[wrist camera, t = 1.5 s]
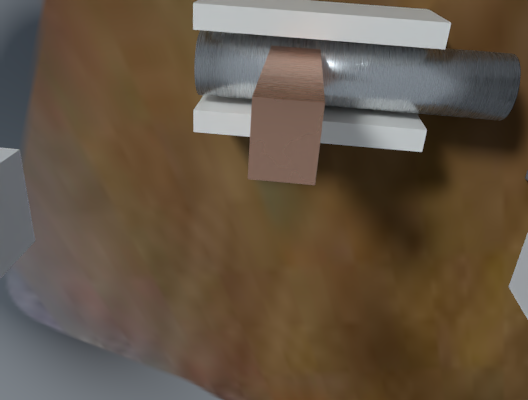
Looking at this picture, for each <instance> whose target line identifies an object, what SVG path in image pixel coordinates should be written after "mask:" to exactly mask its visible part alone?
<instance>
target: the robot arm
mask: <svg viewBox="0 0 528 400" xmlns="http://www.w3.org/2000/svg"><path fill="white" fill-rule="evenodd" d="M34 242H35V236H34V230H33V224H32V219H31V213H30V207H29V201H28V195H27V190H26V184H25V178H24V172H23V166H22V160H21V155H20V150H19V149H9V148H0V278H1V277H2V276H3V275H4V274H5V273H6V272H7V271H8V270H9V269H10V268H11V267H12V265H13V264H14V263H15V262H16V261H17V260H18V259H19V258H20V257H21V256H22V255H23V254H24V253H25V251H26V250H27V249H28V248H29V247H30V246H31V245H32V244H33V243H34ZM509 288H510V290H511V292H512V294H513V295H514V297H515V299H516V300H517V302H518V304H519V305H520V307H521V309H522V311H523V312H524V314H525V316H526V317H527V319H528V233H527V236H526V239H525V242H524V245H523V248H522V250H521V253H520V256H519V259H518V262H517V265H516V267H515V270H514V273H513V276H512V279H511V282H510V284H509Z"/></svg>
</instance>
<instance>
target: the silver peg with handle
mask: <svg viewBox="0 0 528 400" xmlns="http://www.w3.org/2000/svg"><path fill="white" fill-rule="evenodd" d="M520 74H521V73H520V63H519V59H518V57H517V56H516V55H515V54H510V53H498V52H485V51H472V50H460V49H447V48H445V50H444V49H432V48H419V47H406V46H394V45H381V44H368V43H356V42H343V41H330V40H318V39H305V38H293V37H280V36H267V35H255V34H242V33H229V32H217V31H204V30H200V32H199V35H198V39H197V44H196V52H195V85H196V90H197V93H198V94H199V95H206V96H218V97H230V98H242V99H252V107H251V127H250V146H249V165H248V179H253V180H264V181H275V182H286V183H296V184H307V185H315V181H316V173H317V165H318V157H319V148H320V140H321V132H322V124H323V116H324V107H325V106H335V107H347V108H359V109H371V110H382V111H394V112H406V113H418V114H429V115H441V116H453V117H465V118H476V119H488V120H503V119H505V118H506V117H507V116H508V114H509V113H510V111H511V110H512V108H513V106H514V103H515V101H516V98H517V94H518V90H519V85H520Z"/></svg>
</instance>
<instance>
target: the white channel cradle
mask: <svg viewBox="0 0 528 400" xmlns="http://www.w3.org/2000/svg"><path fill="white" fill-rule="evenodd" d="M450 26H451V22H449V21H447V20H446V19H444V18H442V17H441V16H439V15H437V14H436V13H434V12H432V11H431V10H429V9H417V8H404V7H390V6H377V5H364V4H351V3H337V2H324V1H311V0H198V1H196V2H194V3H193V30H204V31H217V32H229V33H242V34H255V35H267V36H280V37H293V38H305V39H318V40H330V41H343V42H356V43H368V44H381V45H394V46H406V47H419V48H432V49H444V50H445V48H446V44H447V40H448V35H449V31H450ZM251 107H252V99H242V98H230V97H218V96H206V95H204V96H203V97H202V98H201V100H200V101H199V103H198V104H197V106H196V107H195V109H194V132H201V133H212V134H224V135H235V136H246V137H250V127H251ZM426 133H427V129H426V128H425V126H424V124H423V123H422V121H421V119H420V118H419V116H418V114H417V113H406V112H394V111H382V110H371V109H359V108H347V107H335V106H325V107H324V116H323V124H322V132H321V140H320V143H325V144H336V145H348V146H359V147H370V148H382V149H393V150H404V151H415V152H422V150H423V146H424V142H425V137H426Z"/></svg>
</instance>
